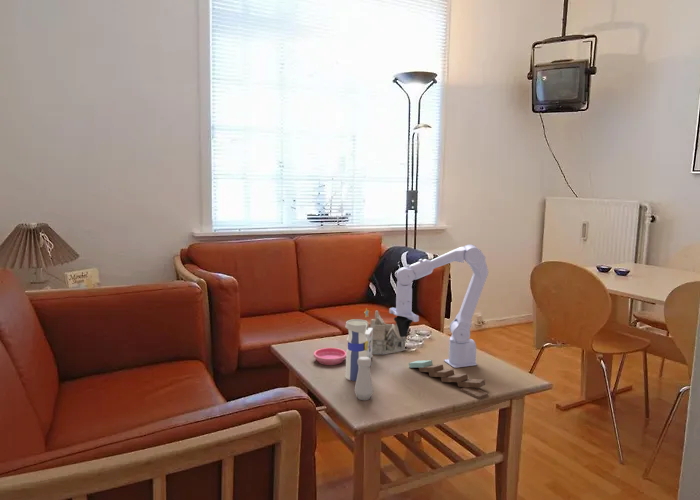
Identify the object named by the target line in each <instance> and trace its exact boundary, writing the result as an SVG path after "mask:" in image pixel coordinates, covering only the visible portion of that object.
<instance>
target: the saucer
mask: <svg viewBox="0 0 700 500" xmlns="http://www.w3.org/2000/svg"><path fill="white" fill-rule="evenodd" d="M346 353H347V350H344V349H342V348H338V347H322V348H319V349H316V350H315V351H314V352H313V357H314V358H315V360H316V361H317V362H318V363H319V364H321V365H326V366H335V365H339V364H341V363H343V361H344V360H345V361H346Z"/></svg>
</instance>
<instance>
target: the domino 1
mask: <svg viewBox="0 0 700 500" xmlns="http://www.w3.org/2000/svg"><path fill="white" fill-rule="evenodd" d="M430 365H434V363H433V360H431V359H430V360H425V359H424V360H415V361H411V362H409V363H408V366H409V368H410V369H411V368H418V369H419V368H420V367H427V366H430Z"/></svg>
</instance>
